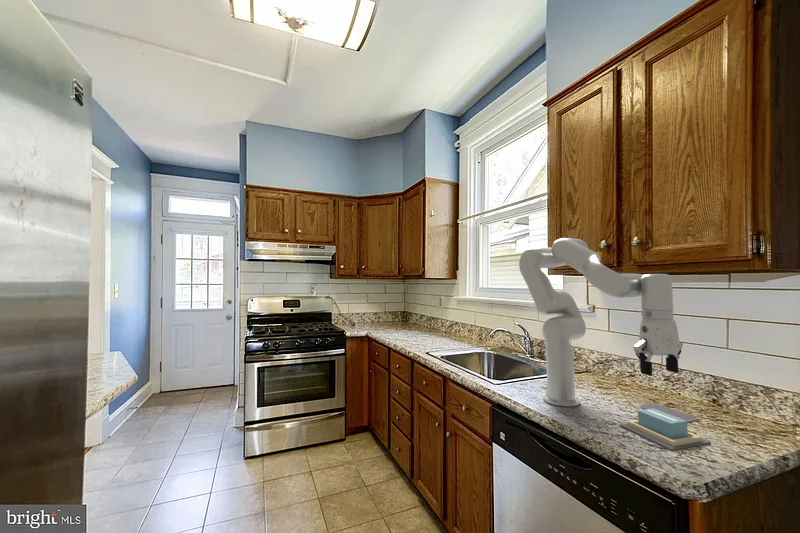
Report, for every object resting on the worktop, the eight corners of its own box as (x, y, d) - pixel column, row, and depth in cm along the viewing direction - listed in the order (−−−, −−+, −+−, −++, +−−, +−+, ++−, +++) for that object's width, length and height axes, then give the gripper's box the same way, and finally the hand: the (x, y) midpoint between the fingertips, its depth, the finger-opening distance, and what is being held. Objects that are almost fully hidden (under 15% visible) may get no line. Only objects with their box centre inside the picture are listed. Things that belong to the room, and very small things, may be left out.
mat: (620, 426, 108) (619, 420, 108) (655, 420, 112) (655, 415, 112) (671, 451, 93) (671, 444, 93) (710, 443, 96) (710, 437, 96)
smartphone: (685, 421, 110) (638, 405, 124) (685, 424, 110) (638, 408, 124) (700, 417, 112) (651, 402, 126) (700, 420, 112) (651, 404, 126)
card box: (687, 438, 98) (687, 420, 98) (671, 441, 97) (671, 423, 97) (653, 424, 108) (653, 407, 108) (638, 427, 106) (637, 410, 107)
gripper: (645, 318, 98) (648, 379, 97) (692, 315, 102) (695, 373, 101) (622, 315, 105) (624, 372, 104) (667, 312, 109) (669, 367, 109)
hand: (659, 373), depth 103 cm, fingers open, 9 cm apart
